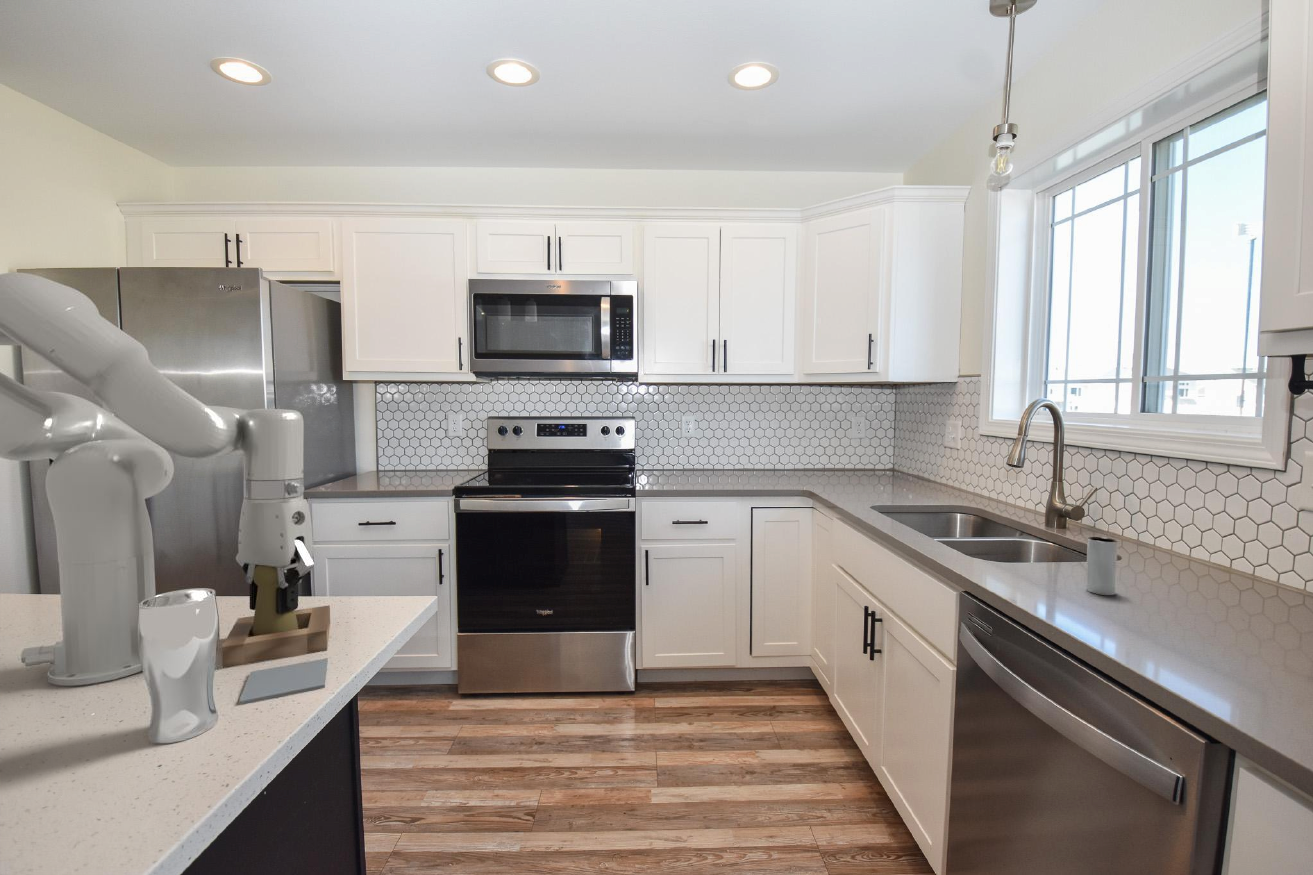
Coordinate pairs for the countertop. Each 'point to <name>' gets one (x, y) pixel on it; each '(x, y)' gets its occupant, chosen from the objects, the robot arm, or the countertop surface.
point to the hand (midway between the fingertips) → (274, 608)
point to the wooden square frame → (277, 639)
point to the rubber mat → (284, 681)
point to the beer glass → (179, 662)
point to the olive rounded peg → (270, 604)
